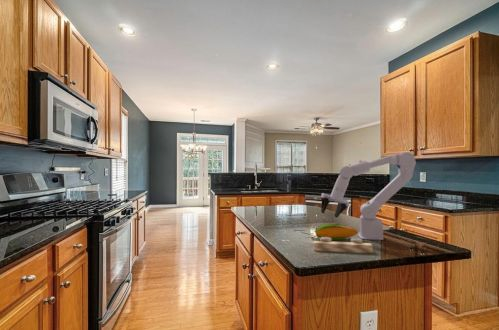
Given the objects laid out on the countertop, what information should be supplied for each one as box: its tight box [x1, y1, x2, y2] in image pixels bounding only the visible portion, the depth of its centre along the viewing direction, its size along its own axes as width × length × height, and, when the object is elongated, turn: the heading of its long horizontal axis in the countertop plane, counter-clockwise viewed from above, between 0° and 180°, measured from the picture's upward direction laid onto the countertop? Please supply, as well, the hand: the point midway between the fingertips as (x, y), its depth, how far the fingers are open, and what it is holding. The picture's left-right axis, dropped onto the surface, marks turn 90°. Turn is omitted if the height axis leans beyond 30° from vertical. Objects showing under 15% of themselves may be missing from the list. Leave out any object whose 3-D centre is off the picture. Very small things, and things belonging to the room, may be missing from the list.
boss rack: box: [313, 237, 374, 254], centre depth 102 cm, size 22×7×4 cm, turn 78°
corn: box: [315, 223, 359, 241], centre depth 115 cm, size 7×8×20 cm
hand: (329, 214), depth 124 cm, fingers open, 7 cm apart
